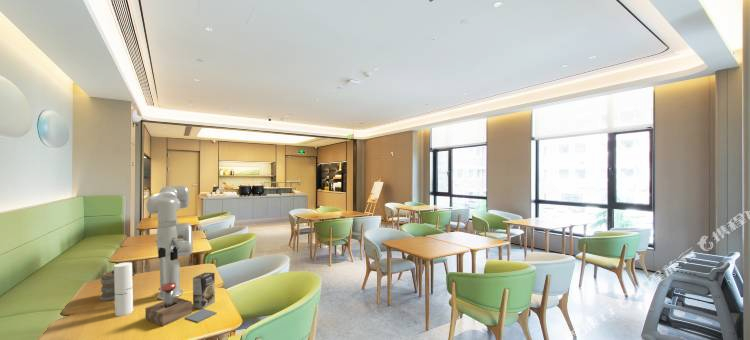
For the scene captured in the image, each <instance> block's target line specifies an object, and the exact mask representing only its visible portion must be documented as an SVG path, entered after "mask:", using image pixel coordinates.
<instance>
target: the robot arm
mask: <svg viewBox="0 0 750 340" xmlns="http://www.w3.org/2000/svg"><path fill="white" fill-rule="evenodd" d="M189 205H190V191H189V188H188V187H187V186H186V185H168V186H167V185H166V186H164V187H162V188H160V190H159V193H155V194H153V195H150V196H149V197H148V198H147V202H146V210H147V212H148V213H150V214H157V230H156V241H155V243H156V247H157V255H158V256H157V257H158V259H159V281H160V283H159V288H158V291H160V293H158V294H157V296H156V297H157V300H162V301H165V299H164V291H161V286H162V285H163V284H166V283H176V288H175V289H173V297H177V298H179V297H180V296H182V295H183V294H184V290H183V289H181V277H180V276H181V275H180V273H181V271H180V270H181V269H180V262H179V261H178V258H179V257H184V256H189V255H191V254H193V251H194V239H193V238H194V237H193V236H194V234H193V227H192V224H190V223H189V222H181V223H178V215H177V211H179V209H186V208H188V207H189Z"/></svg>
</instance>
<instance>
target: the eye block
mask: <svg viewBox="0 0 750 340" xmlns="http://www.w3.org/2000/svg"><path fill="white" fill-rule="evenodd" d="M144 309H145V311H144V312H145V321H146V322H150V323H153V324H156V325H158V326H160V327H164V326H167V325H169V324H171V323H174V322H176V321H178V320H180V319H182V318H185V317H187V316H189V315H191V314H193V300H188V299H184V298H180V297H173V306H171V307H168V308H165V300H162V301H160V302H158V303H155V304H152V305H149V306H147V307H145V308H144Z"/></svg>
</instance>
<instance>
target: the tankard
mask: <svg viewBox="0 0 750 340" xmlns="http://www.w3.org/2000/svg"><path fill="white" fill-rule="evenodd" d="M135 274H136V273H135V272H133V271H132V277H134V276H135ZM101 276H102V277H101V280H100V284H101V285H102V287H101V288H100V292H101V293H102V294H101V295H100V296H99V300H100V301H104V302H106V301H107V302H109V301H113V300H114V301H115V285H114V269H113V270H109V271H105V272H104V273H103V274H102V275H101Z"/></svg>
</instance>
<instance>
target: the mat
mask: <svg viewBox="0 0 750 340" xmlns="http://www.w3.org/2000/svg"><path fill="white" fill-rule="evenodd" d="M216 314H218V313H217V312H215V311H212V310H210V309H206V308H204V309H200V310H197V311H196V312H192V313H191V314H189V315H187V316H185V317H184V319H185V320H188V321H192V322H194V323H200V322H203V321H204V320H206V319H208V318H211V317H212V316H215V315H216Z"/></svg>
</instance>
